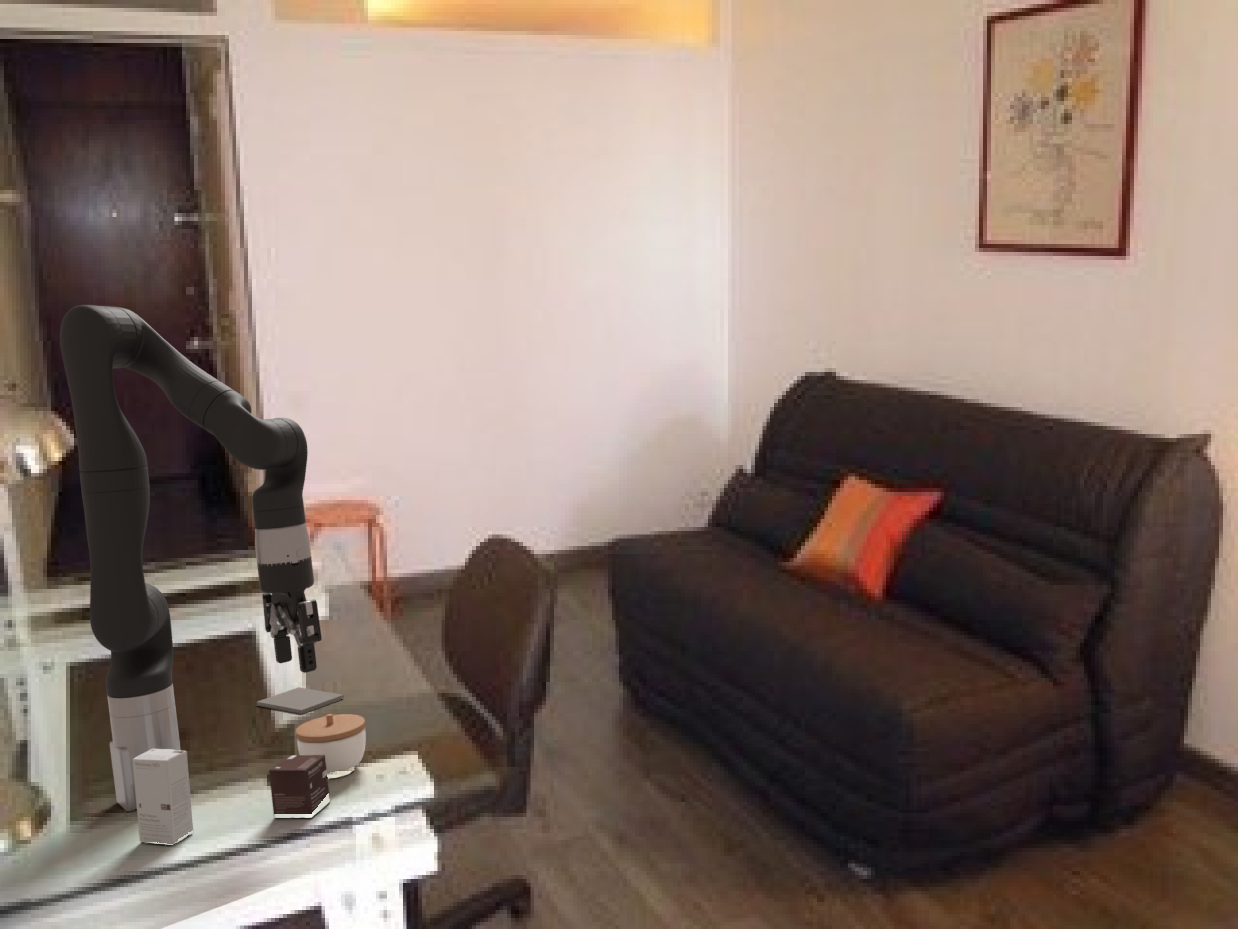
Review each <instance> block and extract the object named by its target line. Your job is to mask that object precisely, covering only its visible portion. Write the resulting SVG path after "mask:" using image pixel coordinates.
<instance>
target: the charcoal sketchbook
mask: <svg viewBox="0 0 1238 929" xmlns="http://www.w3.org/2000/svg"><path fill="white" fill-rule="evenodd" d="M342 698H344V699H345V696H344V694H339V693H335V692H329V691H322V690H319V689H318V690H316V689H312V688H307V687H306V688H304V687H296V688H295V687H294V688H293V689H290V690H287V691H284V692H280V693H278V694H275V695H272V696H269V697H267V698H264V699H261V700H257V701H256V706H258V707H262V708H267V709H273V710H279V711H283V712H289V713H293V714H299V715H305V714H306V713H309V712H312V711H314V710H317V709H320V708H323V707H325V706H328V705H331V704H334V703H336V702H339V701H342V700H343V699H342ZM341 699H342V700H341Z"/></svg>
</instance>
